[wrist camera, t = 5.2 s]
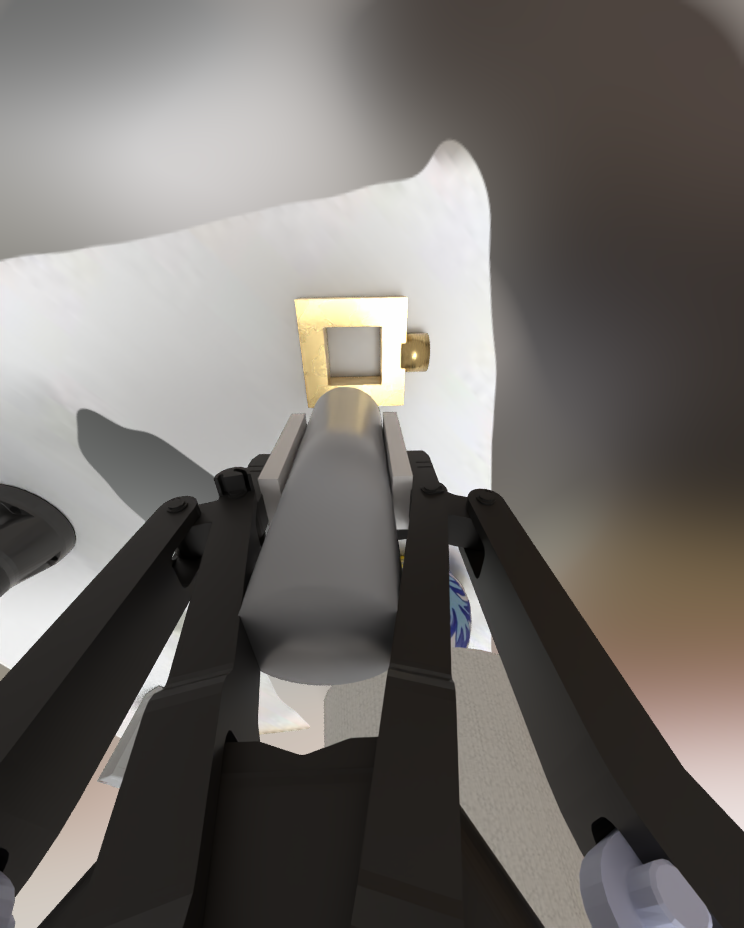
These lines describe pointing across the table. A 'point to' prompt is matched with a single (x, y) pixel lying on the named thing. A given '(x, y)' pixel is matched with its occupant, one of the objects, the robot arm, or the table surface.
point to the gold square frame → (355, 312)
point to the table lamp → (488, 771)
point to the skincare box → (124, 747)
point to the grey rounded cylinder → (329, 554)
